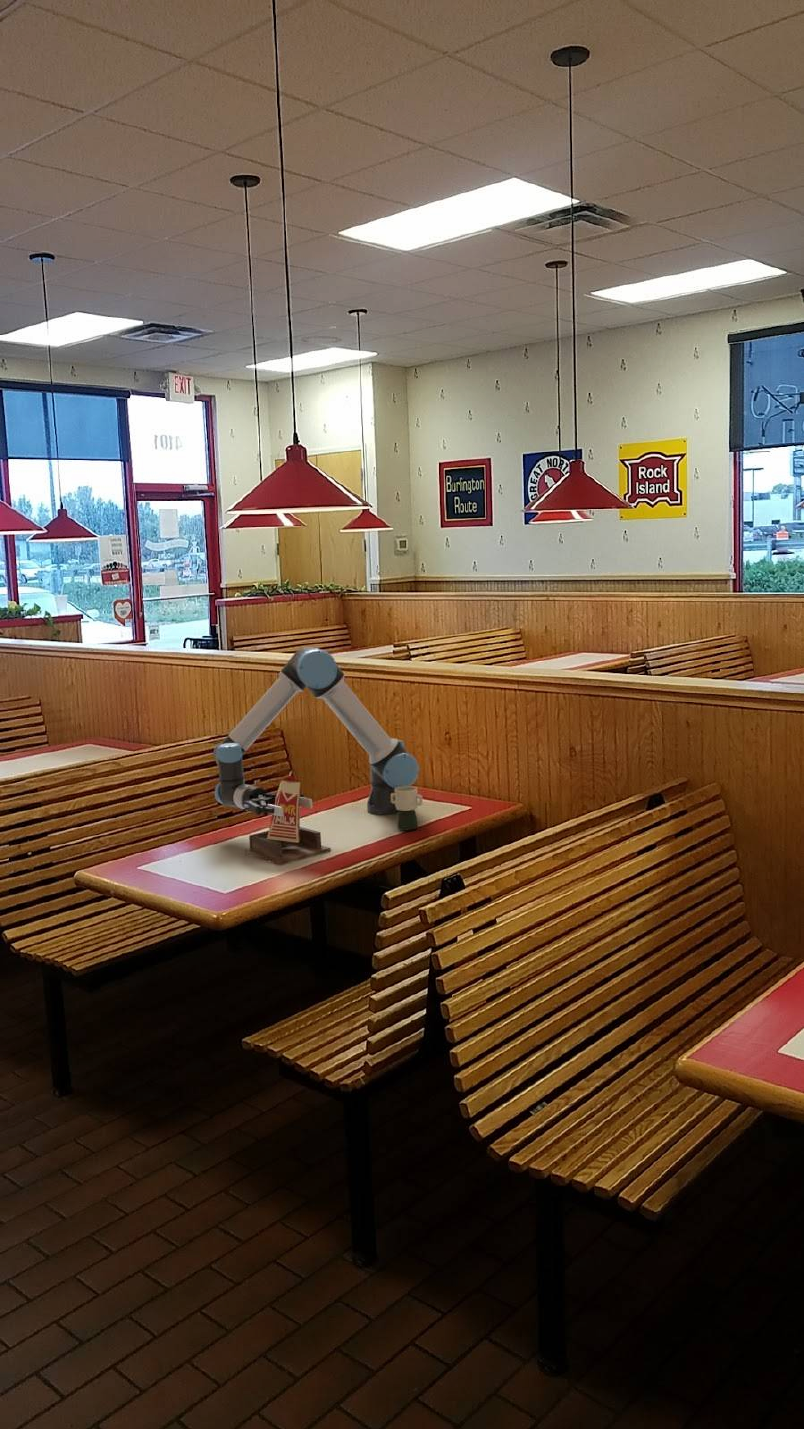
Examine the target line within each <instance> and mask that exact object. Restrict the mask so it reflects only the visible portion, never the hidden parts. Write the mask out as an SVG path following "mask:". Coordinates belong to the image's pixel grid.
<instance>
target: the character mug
mask: <svg viewBox="0 0 804 1429" xmlns="http://www.w3.org/2000/svg"><path fill="white" fill-rule="evenodd" d="M394 796H395V801H394ZM391 803H393V804H395V806H396V809H397V810H400V812H399V813H398V817H397V818H398V819H397V829H398V830H400V831H408V830H411V831H413V830H414V829H417V828H418V827H419V824H418V818H417V812H416V811H415V810H417V809H418V807H419V806H420V807H421V806H423V795H421V794H419V793H418V787H417V786H413V785H410V786H402V787H398V788H395V793H391Z"/></svg>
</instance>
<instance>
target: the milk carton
mask: <svg viewBox="0 0 804 1429" xmlns="http://www.w3.org/2000/svg"><path fill="white" fill-rule="evenodd" d="M292 773H293V771H292V770H291V771H289V774H288V776H287V777H285V778H284V779H282V780H281V781H280V784H279V787H278V790H277V793H276V794H277V796H276V799H275V804H274V805H276V806H281V807H283V813H284V816H283V817H280V816H276V815H272V814H271V818H270V824H269V827H268V831H269V832H268V836H267V839H271V840H279V841H288V842H296V843H299V839H300V827H301V826H300V825H301V824H300V822H301V819H300V818H301V814H300V813H301V811H300V810H301V807H300V799H299V797H300V795H299V793H300V790H301V789H300V787H301V782H300V781H299V780H298V779H296V778H295V777H293V776H292Z"/></svg>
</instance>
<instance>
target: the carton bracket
mask: <svg viewBox="0 0 804 1429" xmlns="http://www.w3.org/2000/svg"><path fill="white" fill-rule="evenodd" d="M268 832H269V830H267V831H262V832H258V833H254V834H251V835H250V834H249V836H248V839H249V849H246V850H244V851H243V852H244V855H246V856H249V855H250V856H249V857H252V856H253V858H255V859H259V860H262V861H265V862H268V861H271V862H273V863H272V864H274V865H278V866H283V865H285V863H287V864H290V863H293V862H292V861H294V862H296V861H300V860H304V859H308V858H310V857H311V856H312V857H315V856H318V854H319V855H322V854H325V853H328V852H329V853H330V852H331V850H332V849H331V847H328V846H325V845H322V837H321V836H322V835H321V834H322V833H321V832H320V831H318V830H313V829H310V828H305V827H301V826H300V839H299V843H296V842H288V841H279V840H271V839H267V836H268ZM271 862H270V863H271ZM289 862H290V863H289Z"/></svg>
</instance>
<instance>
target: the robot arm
mask: <svg viewBox="0 0 804 1429" xmlns="http://www.w3.org/2000/svg"><path fill="white" fill-rule="evenodd" d="M335 660H336V659H335V658H334V657H333V656H332V654H330V653H329V652H328V651H327V650H325V649H321V648H319V647H317V646H310V645H308V646H303V647H301V648H299V649H298V650H297V651H296V652H294V654H293V655H292V656H291V658H290V659H289V660H288V661H287V662H286V664H285V665H284V667H282V669H281V670H279V677H278V678H277V679H276V680H275V682H274V683H272V685H271V686H270V687H269V689H267V690H266V692H265V693H264V694H263V695H262V696H261V697H260V698H259V700H258V701H257V702H256V703H255V704H254V705H253V707H252V708H251V709H250V710H249V711H248V713H247V714H245V715H244V717H243V718H242V720H240V722H239V723H238V724H236V726H235V727H234V728H233V729H232V730H231V732H230V733H229V734H228V735H227V736H226V737H225V739H224V740H223V741H222V742H220V743H218V744H216V746H215V747H214V750H213V759H214V761H215V763H216V765H217V768H218V777H219V783H217V784H216V785H215V788H214V798H215V799H216V801H217V802H218V803H219V804H221V805H224V806H227V807H232V808H237V809H241V810H244V811H246V812H251V813H252V814H254V815H257V816H260V815H262V816H263V817H268V815H271V816H272V815H276V816H280V817H283V816H284V813H283V807H281V806H276V805H274V804H275V799H276V796H277V793H271V792H268V790H266V789H265V788H263V787H261V786H255V785H251V784H246V783H245V775H244V764H243V762H244V761H243V756H244V754H245V753H246V752H247V751H248V749H250V747H251V746H252V744H253V743H254V742H255V741H256V740H257V739H258V738H259V737H260V736H261V734H263V732H264V731H265V730H266V729H267V728H268V726H269V725H271V723H272V722H273V721H274V719H275V718H276V717H277V716H278V715H279V714H280V713H281V712H282V710H284V708H285V707H286V706H287V705H288V704H289V703H290V701H291V700H292V699H293V698H294V697H295V696H296V695H297V694H298V693H301V692H302V693H303V692H304V691H305V690H306V688H307V689H308V690H309V692H310V693H311V694H312V695H313V697H314V698H315V699H321V700H323V701H324V702H325V704H326V705H327V706H328V707H329V708H330V709H331V711H332V713H334V714H335V715H336V717H337V718H338V719H339V721H340V722H341V723H342V724H343V725H344V727H345V728H346V729H347V730H348V731H349V732H350V733H351V736H353V738H355V740H356V741H357V742H358V744H359V745H360V746H361V747H362V748H363V750H365V752H366V753H367V754H368V756H369V758H368V763H369V771H370V784H371V785H370V791H369V795H368V798H367V802H366V803H367V804H366V806H367V807H366V810H367V812H368V813H371V814H376V815H393V814H394V815H395V814H399V812H400V810H397V809H396V806H395V804H393V803H391V793H395V788H398V787H402V786H413V784H414V783H415V782H416V780H417V779H418V776H419V773H420V771H419V770H420V766H419V763H418V760H417V758H416V757H414V756H413V755H412V754H410V752H408V750H407V749H406V748H405V744H404V741H403V740H400V739H398V738H392V737H390V736H389V735H388V734H387V733H386V731H385V730H384V729H383V727H382V726H381V725H380V723H378V721H377V720H376V719H375V717H373V715H372V713H371V712H369V710H368V709H367V708H366V707H365V706H364V704H363V702H361V700H360V699H359V698H358V697H357V695H356V694H355V693H354V692H353V690H351V688H350V687H349V685H347V683H346V682H345V677H346V676H345V673H344V672H343V671H342V669H341V668H340V667H339V666H338V665H337V663H336V661H335ZM299 795H300V797H299V799H300V808H301V807H302V808H306V809H311V810H312V809H313V808H314V806H313V799H312V798H308V797H305V795H304V793H301V792H299ZM394 801H395V796H394Z"/></svg>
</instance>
